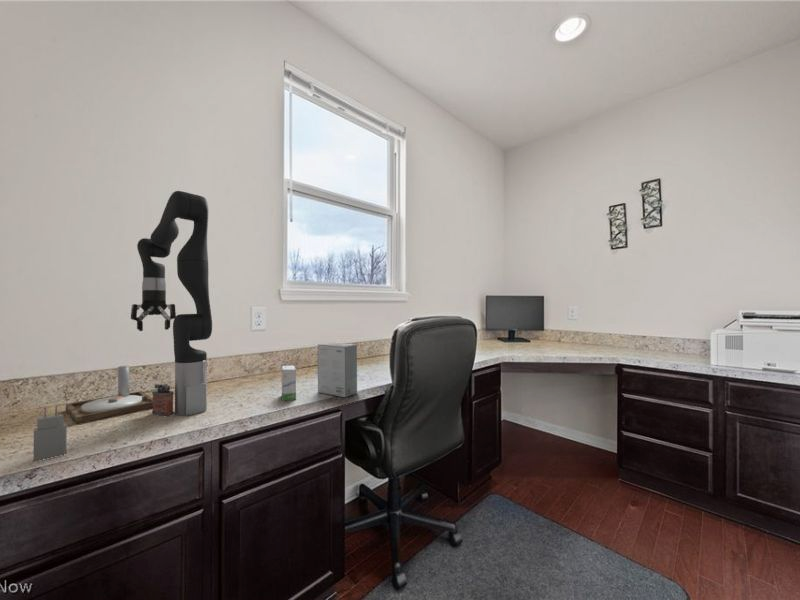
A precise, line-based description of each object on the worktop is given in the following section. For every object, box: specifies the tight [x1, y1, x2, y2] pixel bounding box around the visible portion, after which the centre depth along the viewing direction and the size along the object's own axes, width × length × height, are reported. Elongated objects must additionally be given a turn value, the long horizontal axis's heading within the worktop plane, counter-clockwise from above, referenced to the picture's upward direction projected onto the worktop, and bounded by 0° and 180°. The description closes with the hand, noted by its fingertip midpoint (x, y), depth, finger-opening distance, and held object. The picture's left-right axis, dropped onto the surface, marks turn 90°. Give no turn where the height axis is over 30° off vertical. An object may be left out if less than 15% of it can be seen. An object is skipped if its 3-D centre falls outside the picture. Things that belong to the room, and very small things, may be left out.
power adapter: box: [32, 405, 68, 462], centre depth 80 cm, size 3×5×12 cm, turn 134°
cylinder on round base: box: [81, 365, 142, 414], centre depth 115 cm, size 16×16×12 cm
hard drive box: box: [317, 342, 358, 398], centre depth 135 cm, size 16×8×20 cm, turn 58°
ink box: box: [281, 365, 297, 402], centre depth 129 cm, size 8×5×12 cm, turn 22°
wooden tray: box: [65, 390, 153, 426], centre depth 115 cm, size 21×21×2 cm
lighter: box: [151, 383, 175, 417], centre depth 110 cm, size 8×3×10 cm, turn 71°
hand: (154, 330), depth 131 cm, fingers open, 8 cm apart
